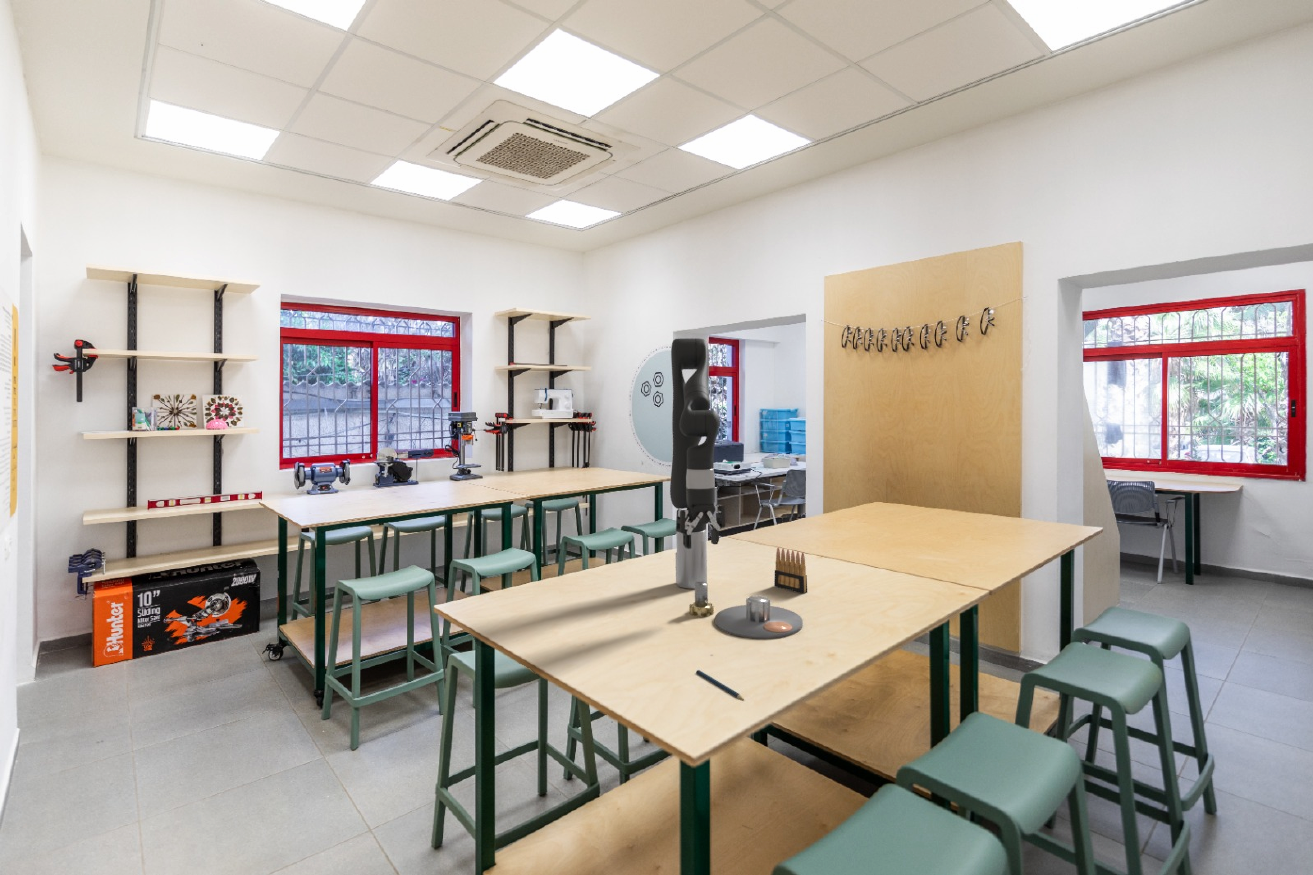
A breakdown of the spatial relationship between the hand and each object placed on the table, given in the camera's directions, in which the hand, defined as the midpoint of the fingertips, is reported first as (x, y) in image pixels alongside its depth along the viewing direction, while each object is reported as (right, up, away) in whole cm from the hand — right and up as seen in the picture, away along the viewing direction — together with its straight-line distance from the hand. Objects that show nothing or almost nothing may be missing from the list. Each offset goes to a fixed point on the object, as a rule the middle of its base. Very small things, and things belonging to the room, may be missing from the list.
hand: (701, 546), depth 168 cm
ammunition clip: (+28, -17, +21) cm, 39 cm away
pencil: (+1, -21, -42) cm, 47 cm away
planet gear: (0, -18, +1) cm, 18 cm away
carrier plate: (+14, -18, -7) cm, 24 cm away
